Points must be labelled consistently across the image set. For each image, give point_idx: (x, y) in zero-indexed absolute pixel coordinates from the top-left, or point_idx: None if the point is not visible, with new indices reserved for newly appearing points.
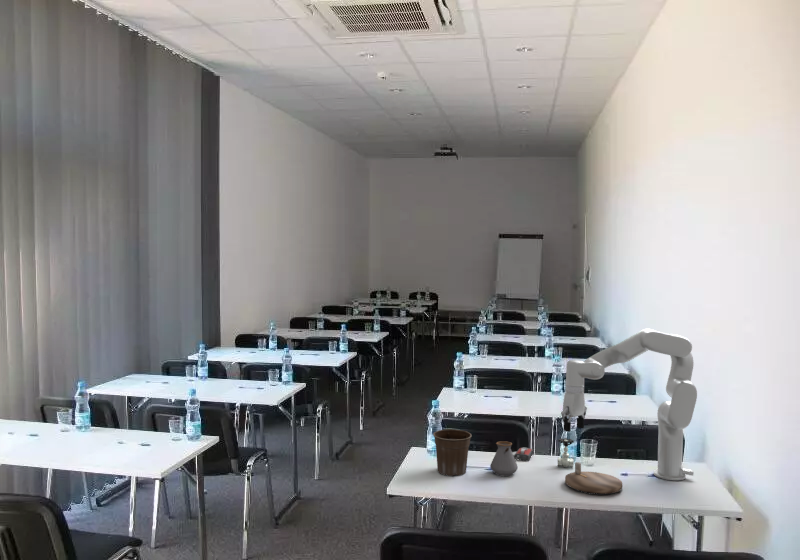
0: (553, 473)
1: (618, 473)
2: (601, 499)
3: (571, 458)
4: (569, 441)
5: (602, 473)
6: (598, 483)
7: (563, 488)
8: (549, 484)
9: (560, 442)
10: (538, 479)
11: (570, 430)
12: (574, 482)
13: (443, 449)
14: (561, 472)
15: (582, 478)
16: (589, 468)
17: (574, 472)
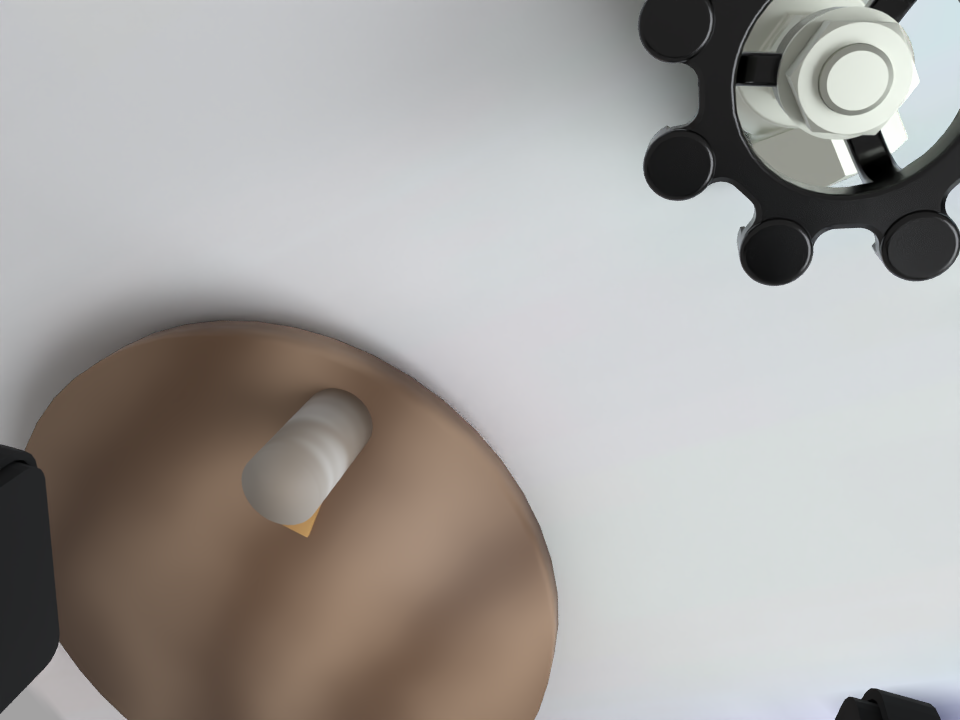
0: (370, 56)
1: (915, 675)
2: None
3: (832, 152)
4: (761, 222)
5: (546, 631)
6: (222, 656)
7: (46, 363)
8: (21, 207)
9: (645, 2)
10: (43, 23)
11: (18, 676)
12: (68, 479)
13: None
14: (485, 122)
15: (228, 507)
16: (924, 356)
17: (347, 375)
